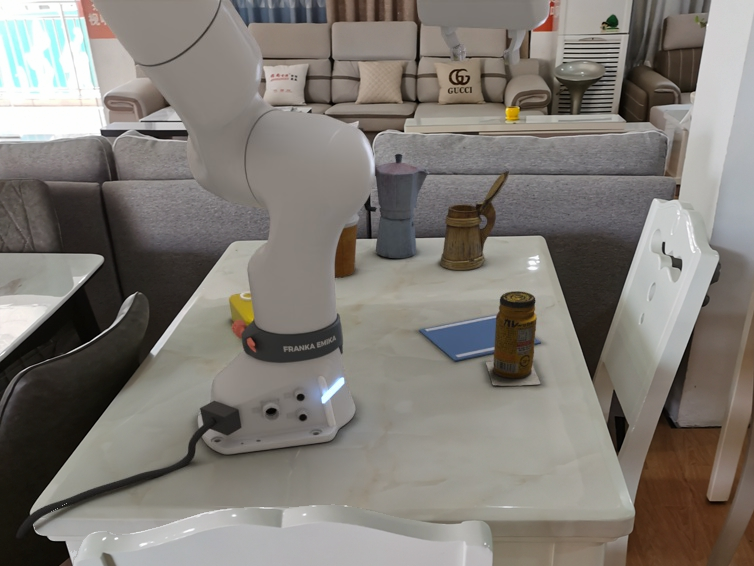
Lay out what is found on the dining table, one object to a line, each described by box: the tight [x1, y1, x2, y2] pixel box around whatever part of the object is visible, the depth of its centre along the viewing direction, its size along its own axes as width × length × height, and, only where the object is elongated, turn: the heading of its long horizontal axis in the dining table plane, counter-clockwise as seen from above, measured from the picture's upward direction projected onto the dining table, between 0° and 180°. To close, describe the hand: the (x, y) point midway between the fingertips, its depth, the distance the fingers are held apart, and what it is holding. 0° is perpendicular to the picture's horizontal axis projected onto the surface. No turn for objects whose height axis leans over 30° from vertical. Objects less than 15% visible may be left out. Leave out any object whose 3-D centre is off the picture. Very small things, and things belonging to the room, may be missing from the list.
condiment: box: [485, 290, 541, 387], centre depth 118 cm, size 7×8×12 cm
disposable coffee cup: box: [335, 212, 360, 278], centre depth 158 cm, size 10×10×12 cm
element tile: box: [228, 290, 254, 326], centre depth 138 cm, size 15×15×5 cm
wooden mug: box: [440, 170, 511, 271], centre depth 158 cm, size 9×14×18 cm, turn 89°
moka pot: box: [363, 153, 430, 259], centre depth 165 cm, size 10×15×20 cm, turn 89°
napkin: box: [418, 314, 542, 363], centre depth 133 cm, size 16×14×1 cm
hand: (484, 61), depth 111 cm, fingers open, 8 cm apart
